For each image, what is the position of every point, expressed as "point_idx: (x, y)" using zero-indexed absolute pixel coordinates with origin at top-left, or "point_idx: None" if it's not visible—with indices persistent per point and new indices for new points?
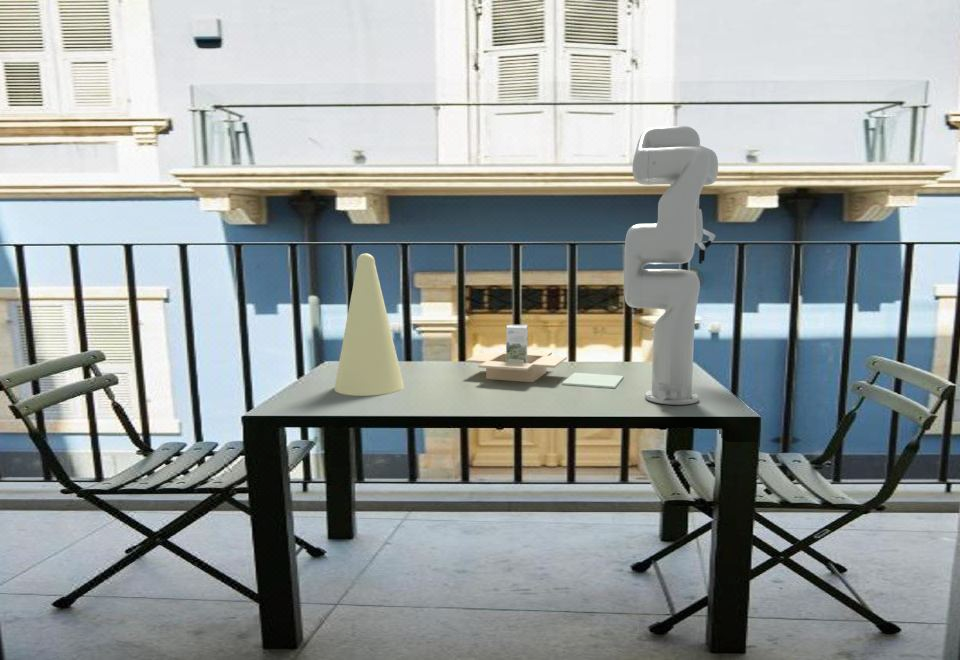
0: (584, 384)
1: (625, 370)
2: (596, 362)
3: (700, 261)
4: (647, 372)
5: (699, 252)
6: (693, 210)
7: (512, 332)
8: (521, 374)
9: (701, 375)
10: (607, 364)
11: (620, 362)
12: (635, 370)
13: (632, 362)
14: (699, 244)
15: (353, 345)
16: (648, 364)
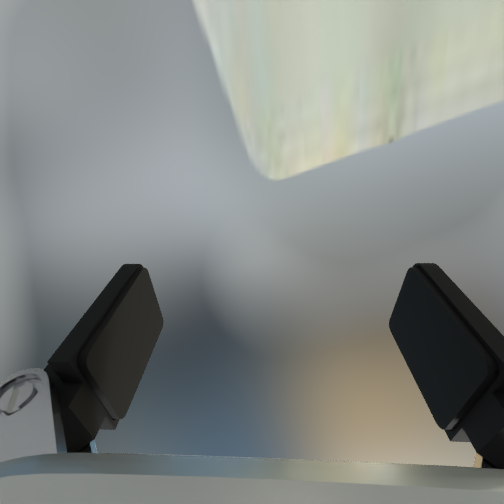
0: None
1: (401, 9)
2: (469, 104)
3: (124, 270)
4: (340, 3)
5: (94, 338)
6: None
7: None
8: None
9: (204, 21)
10: (442, 86)
11: (405, 128)
12: (373, 22)
13: (375, 139)
14: (29, 451)
15: None
16: (338, 127)
